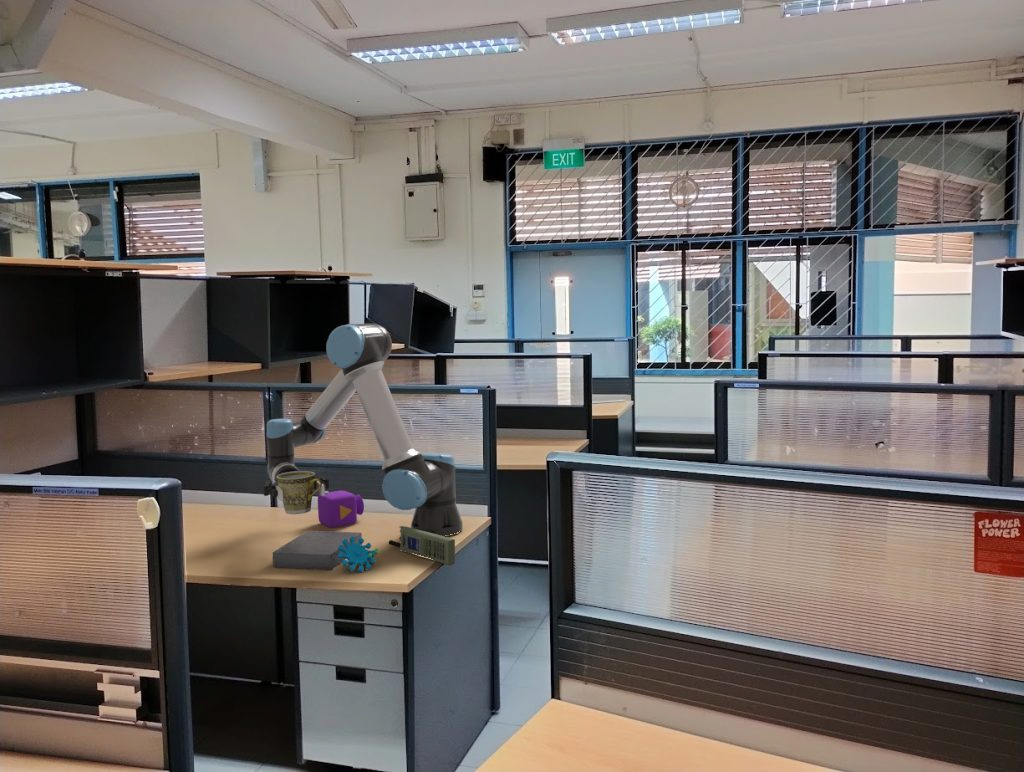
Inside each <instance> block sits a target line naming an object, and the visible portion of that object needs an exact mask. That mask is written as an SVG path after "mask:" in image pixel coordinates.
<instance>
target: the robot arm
mask: <svg viewBox="0 0 1024 772" xmlns="http://www.w3.org/2000/svg"><path fill="white" fill-rule="evenodd" d="M392 346H393V341H392V338H391V335H390V333H389V332H388V330H387V328H385V327H384V326H382V325H380V324H378V323H372V322H369V323H346V324H344V325H343V324H342V325H340V326H337V327H336V328H334V329H333V330H332V331H331V332H330V334H329V335H328V338H327V341H326V349H325V350H326V355H327V358H328V359H329V361H330V362H331V363H332V364H333V365H334V366H336V367H338V368H340V369H339V371H338V373H337V374H336V375H335V377H333V379H332V380H331V382H330V383H329V384H328V385H327V387H326V388H325V389H324V390H323V391H322V393H321V394H320V395H319V396H318V398H317V399H316V400H315V401H314V403H313V404H312V405H311V406H310V408H309V409H308V410H307V412H306V413H305V414H304V415H303V417H302V418H301V419H300V420H299V421H295V422H293V420H292V419H290V418H274V419H269V420H268V421H267V422H266V434H265V435H266V442H267V443H266V445H267V466H266V472H267V473H266V474H267V476H268V478H267V479H265V483H264V485H263V486H262V487H263V496H265V497H268V496H269V495H271V496H270V497H271V498H270V499H276V498H277V499H278V500H279V501H280V502H283V490H282V489H281V488H280V487H279V486H278V482H277V475H279V474H282V473H286V472H293V471H301V470H300V469H299V468H298V467H297V466H296V464H295V448H299V447H303V446H306V445H311V444H316V443H317V442H319V441H321V440H323V439H324V437H325V435H326V434H327V433H326V432H327V427H328V426H329V424H330V423H331V422H332V421H333V420H334V418H335V417H336V416H337V415H338V414H339V412H340V411H342V409H343V408H344V407H345V405H346V404H347V403H348V402H349V400H350V399H351V398H352V397H353V396H354V394H355V393H357V396H358V398H359V401H360V403H361V406H362V408H363V411H364V413H365V415H366V419H367V421H368V423H369V426H370V428H371V431H372V433H373V435H374V438H375V440H376V443H377V445H378V448H379V449H380V452H381V455H382V457H383V460H384V463H383V465H382V466H381V470H382V473H383V474H384V475H383V476H384V477H383V480H382V485H381V491H382V493H383V497H384V498H385V500H386V501H387V502H388V504H390V505H391V506H392V507H394V508H396V509H398V510H401V511H410V510H412V509H413V510H414V512H413V516H412V520H411V524H410V528H414V529H418V530H421V531H425V532H429V533H433V534H437V535H441V536H445V535H450V534H454V533H457V532H459V531H461V530H462V529H464V528H463V520H462V518H461V515H460V512H459V508H458V506H457V500H456V498H457V497H456V496H457V494H456V463H455V457H454V456H453V455H452V454H449V453H442V452H441V453H440V452H439V453H438V452H437V453H436V452H423V453H422V452H421V451H418V450H416V449H414V447H413V446H414V445H413V444H412V442H411V439H410V437H409V434H408V432H407V430H406V427H405V425H404V422H403V419H402V417H401V415H400V412H399V410H398V408H397V404H396V403H395V399H394V398H393V396H392V393H391V391H390V387H389V385H388V382H387V380H386V378H385V375H384V373H383V371H382V370H383V367H384V364H385V362H386V361H387V359H388V358H389V357H390V355H391V352H392V348H393V347H392ZM315 478H318V479H320V480H321V482H322V487H321V488H320V489H319V490H318V491H317V492H316V493H318V494H319V495H320V494H321V495H322V496H324V495H325V491H326V490H327V489H330V480H329V479H328V478H325V477H324V476H319V475H316V474H315ZM319 487H320V483H319V481H315V482H314V488H313V490H317V489H318V488H319ZM462 531H463V530H462ZM462 531H461V532H462Z"/></svg>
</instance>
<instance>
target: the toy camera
mask: <svg viewBox="0 0 1024 772" xmlns="http://www.w3.org/2000/svg"><path fill="white" fill-rule="evenodd" d="M364 511H365V504H364V500H363V498H362V496H361V495H360V494H356V495H355V494H353V493H352V492H349V491H347V490H336V491H330V492H329V491H326V490H325V495H324V496H322V495H321V494H320V493H319V494H318V495H317V514H318V521H319V523H320V524H322V525H324V526H326V527H328V528H332V529H333V528H338V527H344V526H349V525H353V524H355V523H357V521H358V519H357V518H358V516H357V515H359V516H361V515H362V514H363V513H364Z"/></svg>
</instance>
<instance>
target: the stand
mask: <svg viewBox="0 0 1024 772" xmlns="http://www.w3.org/2000/svg"><path fill="white" fill-rule="evenodd" d="M351 537H355V538H356V539H355V541H354V542H353V543H354V544H357V543H358V540H359V539H360V538H362V539H363V535H362V532H355V531H354V532H352V531H348V532H347V531H329V530H327V531H326V530H307V531H305V532H303V533H302V534H300V535H299V536H297V537H295V538H293V539H292V540H290V541H289V542H287V543H285V544H284V545H281V547H279V548H277V549H275V550H274V551H272V568H273V567H278V568H277V569H293V568H295V570H296V569H298V570H312V571H313V570H316V571H332V570H334V569H335V568H337V567H338V566H339V565H340V564H342V563H341V562H342V561H343V560H345V558H338V554H339V552H341V553H343V554H344V555H345V553H344V552H342V551H339V550H338V547H339V546H340V545H343V547H344V549H346V547H345V545H344V544H343V543H342V541H343V540H344V539H347V540H348V543H347V544H348V545H351V542H350V538H351ZM360 545H362V546H363V543H362V544H360ZM337 565H338V566H337ZM334 567H335V568H334ZM333 568H334V569H333Z"/></svg>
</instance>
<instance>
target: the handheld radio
mask: <svg viewBox="0 0 1024 772" xmlns="http://www.w3.org/2000/svg"><path fill="white" fill-rule="evenodd" d="M398 527H399V528H400V530H399V533H400V535H399V540H400V541H399V542H398V541H395V540H393V539H390V540H389V541H388V545H390V546H393V547H396V548H400V550H402V551H406V552H409V553H414V554H417V555H421V556H424V557H428V558H431V559H433V560H435V561H434V562H436V561H437V563H440V564H443V565H447V566H452V565H455V563H456V539H455V538H453V537H450V536H446V537H445V536H441V535H437V534H433V533H429V532H425V531H421V530H418V529H414V528H411V526H405V525H399V526H398ZM402 551H401V552H402ZM409 553H408V554H409ZM433 560H432V561H433Z"/></svg>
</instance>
